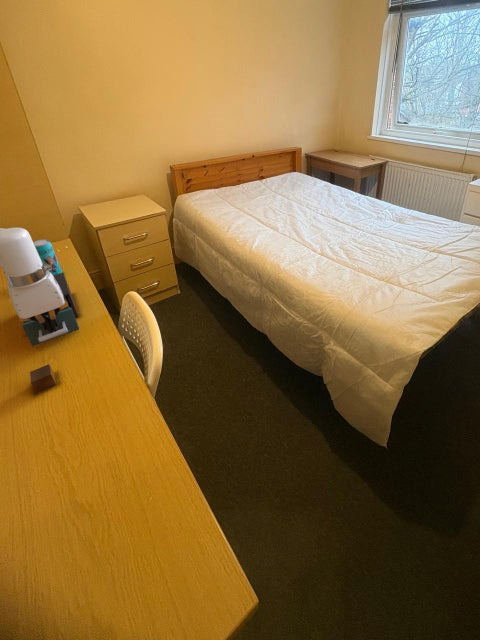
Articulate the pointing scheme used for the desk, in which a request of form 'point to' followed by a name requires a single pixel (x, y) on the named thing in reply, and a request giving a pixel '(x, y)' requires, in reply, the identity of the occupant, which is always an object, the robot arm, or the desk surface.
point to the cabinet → (65, 291)
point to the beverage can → (48, 255)
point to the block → (42, 378)
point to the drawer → (39, 334)
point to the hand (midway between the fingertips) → (53, 329)
